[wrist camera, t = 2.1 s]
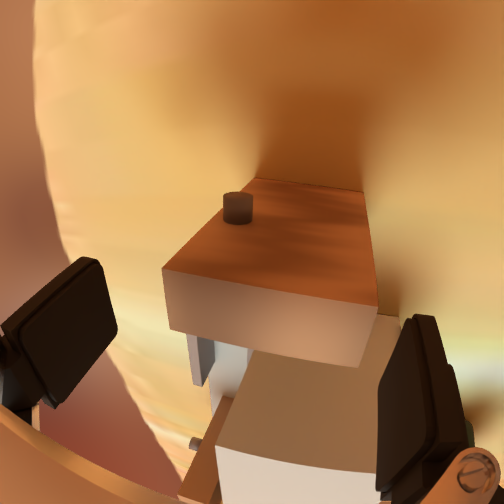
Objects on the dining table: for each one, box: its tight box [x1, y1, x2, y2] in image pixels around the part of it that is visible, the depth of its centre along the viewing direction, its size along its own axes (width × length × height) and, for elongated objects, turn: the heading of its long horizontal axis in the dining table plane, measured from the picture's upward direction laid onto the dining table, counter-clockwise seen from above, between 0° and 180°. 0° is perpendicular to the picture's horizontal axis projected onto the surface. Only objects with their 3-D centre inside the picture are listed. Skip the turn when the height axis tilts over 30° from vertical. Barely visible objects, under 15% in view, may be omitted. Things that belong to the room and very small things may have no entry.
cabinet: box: [177, 314, 401, 504], centre depth 21 cm, size 14×18×12 cm
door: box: [162, 178, 379, 368], centre depth 14 cm, size 6×4×11 cm, turn 88°
